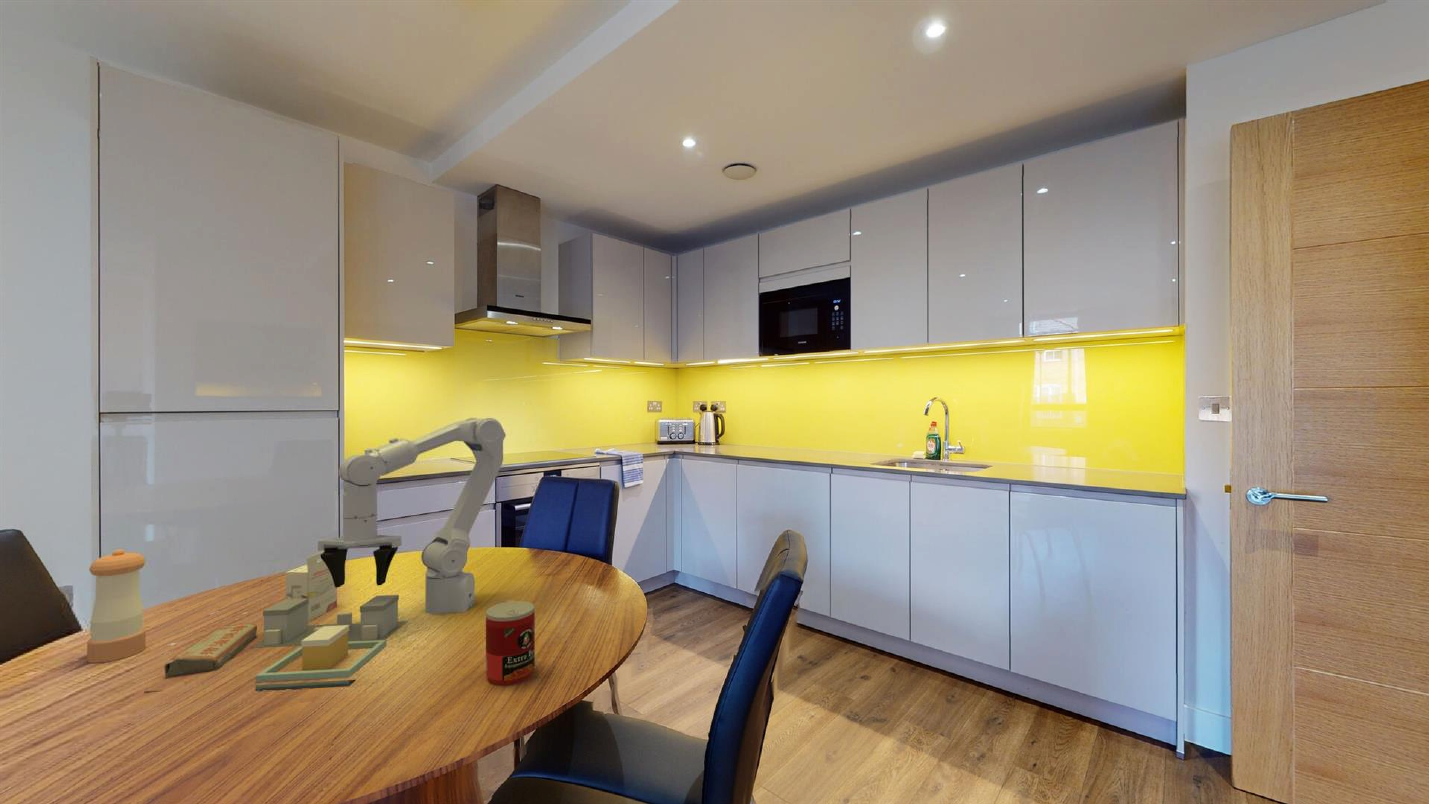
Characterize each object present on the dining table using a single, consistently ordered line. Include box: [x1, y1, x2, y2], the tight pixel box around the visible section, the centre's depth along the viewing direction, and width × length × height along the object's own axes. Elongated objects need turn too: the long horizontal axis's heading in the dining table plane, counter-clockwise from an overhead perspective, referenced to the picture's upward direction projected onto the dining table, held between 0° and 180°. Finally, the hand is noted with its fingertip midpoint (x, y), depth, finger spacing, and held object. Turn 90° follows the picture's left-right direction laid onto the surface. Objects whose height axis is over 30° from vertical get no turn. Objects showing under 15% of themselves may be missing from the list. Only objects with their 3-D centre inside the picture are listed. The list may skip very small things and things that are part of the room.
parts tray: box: [254, 639, 387, 692], centre depth 93 cm, size 14×12×2 cm
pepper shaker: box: [86, 549, 147, 664], centre depth 101 cm, size 7×7×19 cm
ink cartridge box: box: [285, 550, 338, 622], centre depth 116 cm, size 9×5×15 cm, turn 179°
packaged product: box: [144, 622, 258, 694], centre depth 96 cm, size 18×5×10 cm
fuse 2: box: [359, 594, 400, 638], centre depth 106 cm, size 4×6×6 cm
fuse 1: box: [262, 598, 309, 642], centre depth 104 cm, size 4×6×6 cm
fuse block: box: [250, 612, 408, 649], centre depth 105 cm, size 23×10×4 cm, turn 96°
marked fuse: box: [300, 625, 349, 671], centre depth 93 cm, size 4×6×6 cm
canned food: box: [485, 600, 536, 686], centre depth 91 cm, size 8×8×11 cm
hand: (360, 584), depth 107 cm, fingers open, 7 cm apart
